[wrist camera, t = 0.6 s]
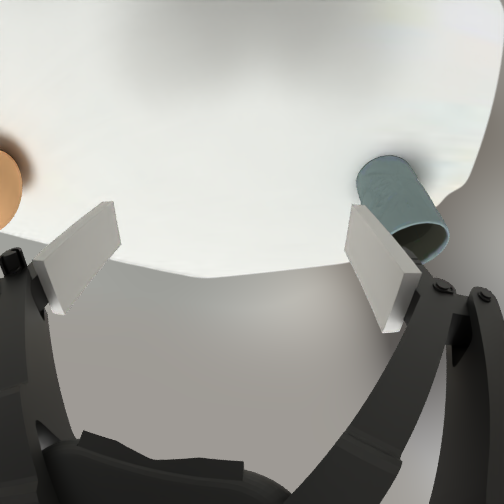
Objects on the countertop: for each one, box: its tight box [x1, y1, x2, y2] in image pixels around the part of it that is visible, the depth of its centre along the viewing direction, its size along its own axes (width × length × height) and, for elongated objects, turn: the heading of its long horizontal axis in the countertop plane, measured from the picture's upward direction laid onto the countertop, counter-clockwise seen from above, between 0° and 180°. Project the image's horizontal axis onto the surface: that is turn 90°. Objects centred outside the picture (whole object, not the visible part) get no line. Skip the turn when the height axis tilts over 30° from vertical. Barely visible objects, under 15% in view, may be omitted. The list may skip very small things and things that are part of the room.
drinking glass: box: [356, 156, 450, 265], centre depth 32 cm, size 10×10×12 cm
